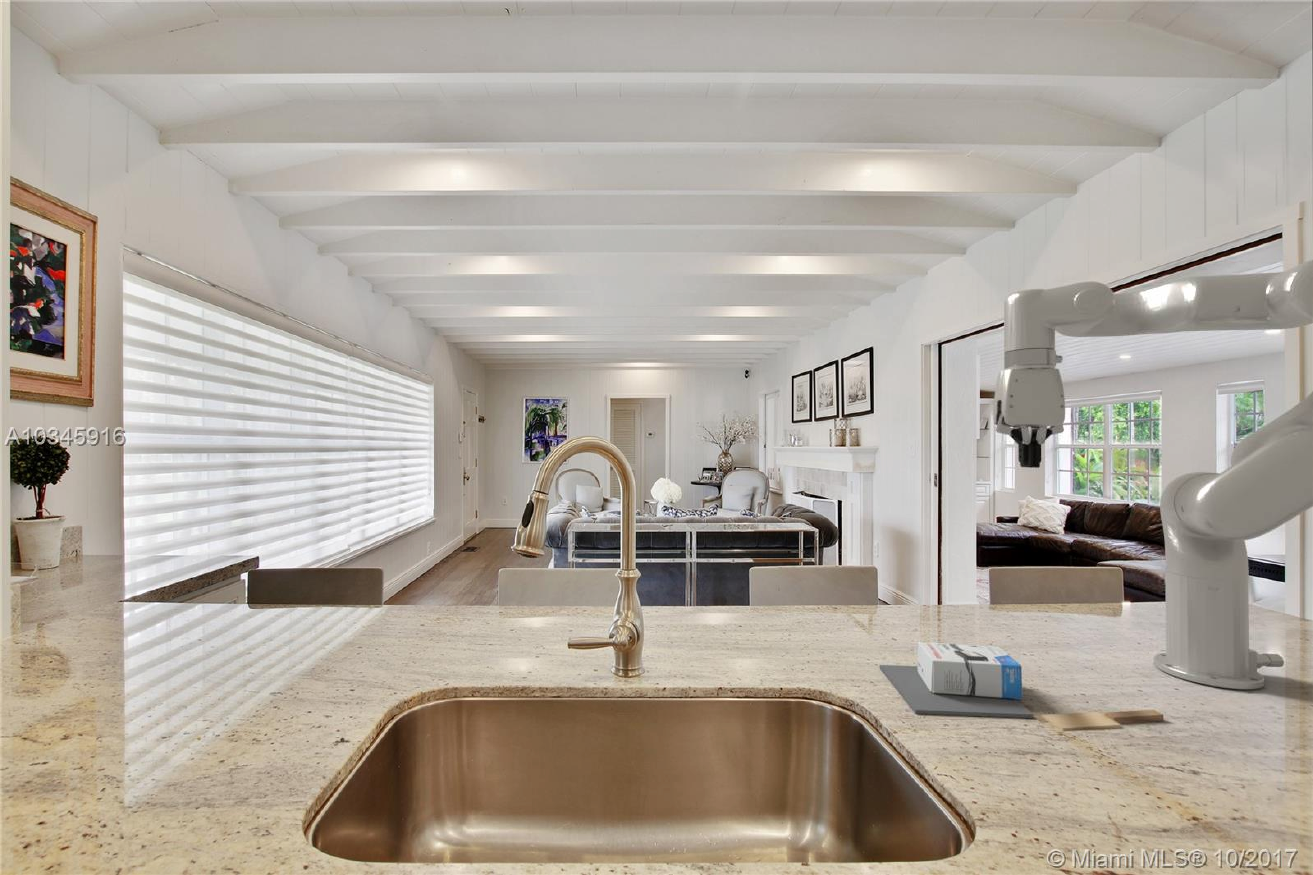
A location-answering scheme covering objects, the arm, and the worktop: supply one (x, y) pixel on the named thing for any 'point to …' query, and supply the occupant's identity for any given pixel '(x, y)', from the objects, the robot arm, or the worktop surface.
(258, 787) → the worktop surface
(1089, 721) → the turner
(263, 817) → the worktop surface
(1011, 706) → the mat
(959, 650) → the ink box
